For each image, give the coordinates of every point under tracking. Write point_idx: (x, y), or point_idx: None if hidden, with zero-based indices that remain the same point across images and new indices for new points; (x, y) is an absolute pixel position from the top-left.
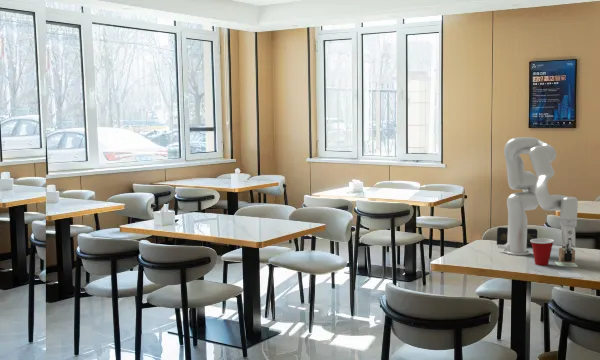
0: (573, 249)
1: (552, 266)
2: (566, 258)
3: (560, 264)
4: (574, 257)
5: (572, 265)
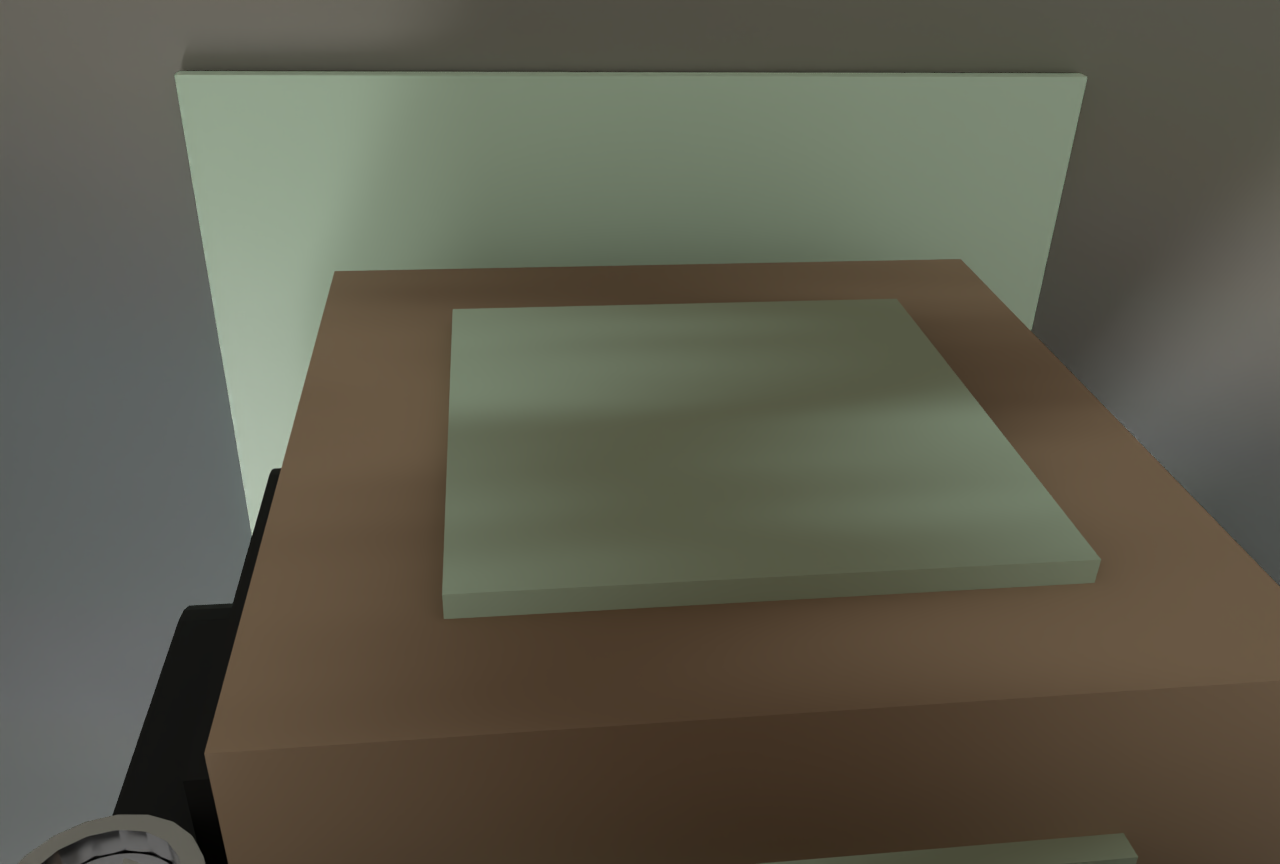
0: (840, 732)
1: None
2: None
3: None
4: (1078, 402)
5: None
